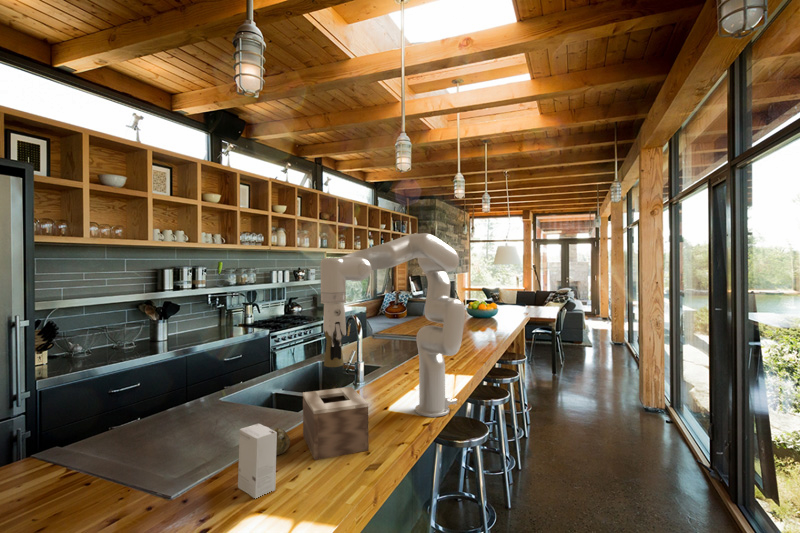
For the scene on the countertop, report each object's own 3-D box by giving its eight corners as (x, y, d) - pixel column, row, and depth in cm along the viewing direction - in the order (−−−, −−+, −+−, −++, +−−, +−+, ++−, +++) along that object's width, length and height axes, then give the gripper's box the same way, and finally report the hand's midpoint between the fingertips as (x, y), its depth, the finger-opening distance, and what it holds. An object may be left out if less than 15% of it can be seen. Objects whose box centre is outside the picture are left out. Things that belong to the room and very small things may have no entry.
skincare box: (237, 488, 108) (236, 428, 108) (259, 479, 113) (258, 421, 112) (256, 500, 103) (255, 437, 102) (278, 490, 107) (277, 430, 107)
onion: (296, 448, 131) (296, 422, 130) (280, 460, 123) (280, 432, 123) (274, 445, 133) (274, 419, 133) (258, 456, 125) (257, 429, 125)
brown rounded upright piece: (340, 367, 130) (339, 330, 130) (320, 366, 132) (320, 330, 131) (346, 362, 136) (346, 327, 136) (328, 361, 137) (327, 327, 137)
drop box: (351, 428, 146) (351, 386, 146) (368, 450, 129) (368, 403, 129) (303, 436, 140) (302, 392, 139) (314, 460, 123) (313, 410, 123)
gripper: (352, 300, 127) (353, 362, 128) (338, 295, 143) (339, 351, 143) (327, 301, 124) (328, 365, 125) (315, 296, 140) (316, 353, 140)
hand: (333, 357), depth 134 cm, fingers closed on brown rounded upright piece, 4 cm apart
